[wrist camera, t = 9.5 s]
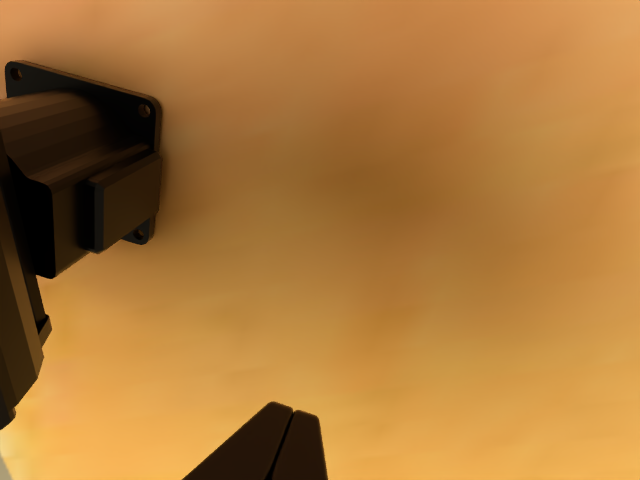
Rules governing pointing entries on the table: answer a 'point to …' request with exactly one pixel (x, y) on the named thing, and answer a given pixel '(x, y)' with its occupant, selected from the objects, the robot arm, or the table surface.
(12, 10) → the table surface
